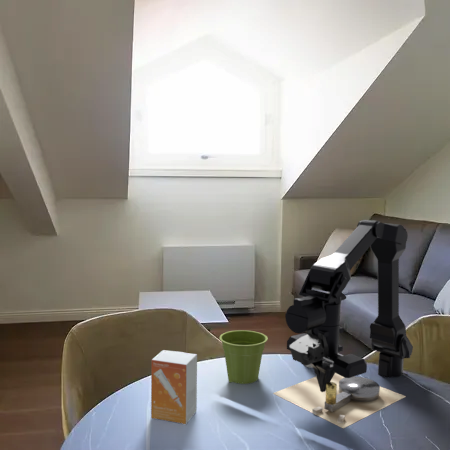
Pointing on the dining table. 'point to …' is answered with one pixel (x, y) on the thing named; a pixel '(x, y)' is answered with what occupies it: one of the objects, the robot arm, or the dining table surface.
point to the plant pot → (243, 355)
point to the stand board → (344, 416)
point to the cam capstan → (350, 392)
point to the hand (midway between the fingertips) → (322, 391)
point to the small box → (174, 386)
